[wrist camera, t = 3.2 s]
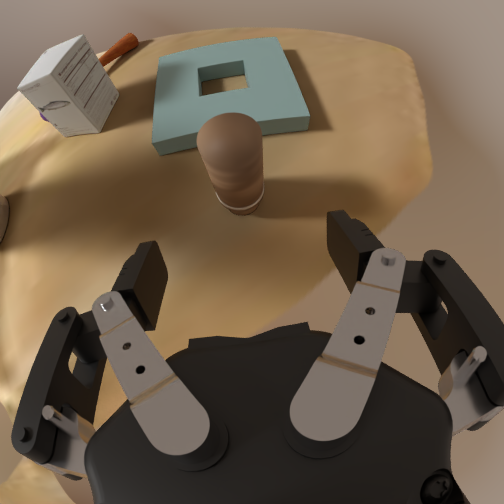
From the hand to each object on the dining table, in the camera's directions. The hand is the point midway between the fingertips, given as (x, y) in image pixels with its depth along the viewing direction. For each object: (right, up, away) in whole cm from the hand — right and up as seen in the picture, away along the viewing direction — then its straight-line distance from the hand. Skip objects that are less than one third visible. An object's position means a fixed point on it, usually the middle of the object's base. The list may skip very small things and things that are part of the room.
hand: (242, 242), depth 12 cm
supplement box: (-22, +19, +17) cm, 33 cm away
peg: (0, +4, +13) cm, 13 cm away
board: (-3, +19, +16) cm, 25 cm away
